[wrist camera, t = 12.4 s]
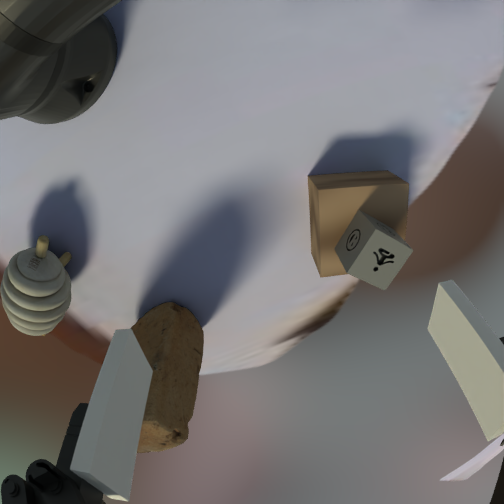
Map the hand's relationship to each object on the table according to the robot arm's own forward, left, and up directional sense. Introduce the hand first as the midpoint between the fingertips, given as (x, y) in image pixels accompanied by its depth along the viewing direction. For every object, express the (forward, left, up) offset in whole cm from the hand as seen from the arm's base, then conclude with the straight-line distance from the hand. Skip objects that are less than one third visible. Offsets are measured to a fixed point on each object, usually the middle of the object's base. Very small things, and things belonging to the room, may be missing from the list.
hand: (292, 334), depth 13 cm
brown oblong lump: (+20, -16, -26) cm, 36 cm away
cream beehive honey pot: (+9, -31, -26) cm, 41 cm away
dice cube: (+6, +10, -20) cm, 24 cm away
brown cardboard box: (+5, +10, -26) cm, 29 cm away
